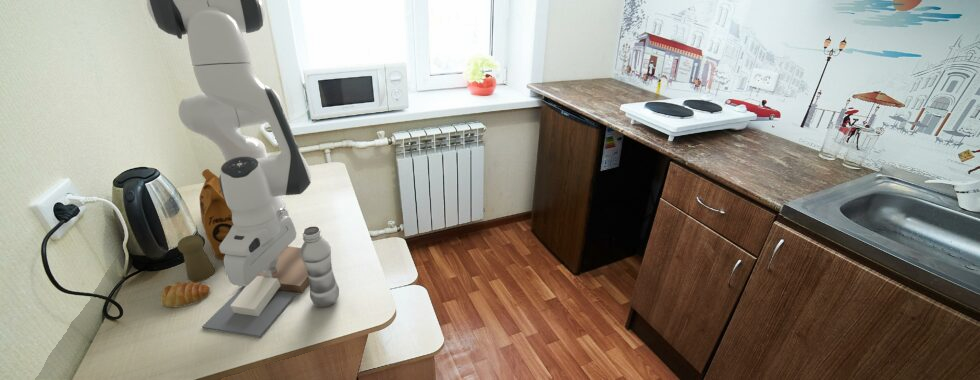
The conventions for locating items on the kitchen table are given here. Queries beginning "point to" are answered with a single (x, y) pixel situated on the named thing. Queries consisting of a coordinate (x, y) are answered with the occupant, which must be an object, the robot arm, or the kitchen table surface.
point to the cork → (196, 258)
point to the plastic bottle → (319, 267)
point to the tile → (255, 296)
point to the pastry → (183, 294)
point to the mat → (249, 316)
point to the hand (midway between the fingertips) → (271, 275)
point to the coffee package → (214, 212)
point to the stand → (291, 271)
